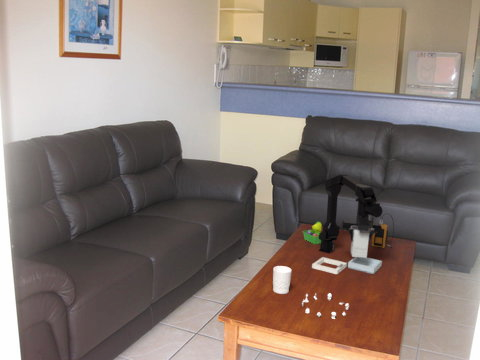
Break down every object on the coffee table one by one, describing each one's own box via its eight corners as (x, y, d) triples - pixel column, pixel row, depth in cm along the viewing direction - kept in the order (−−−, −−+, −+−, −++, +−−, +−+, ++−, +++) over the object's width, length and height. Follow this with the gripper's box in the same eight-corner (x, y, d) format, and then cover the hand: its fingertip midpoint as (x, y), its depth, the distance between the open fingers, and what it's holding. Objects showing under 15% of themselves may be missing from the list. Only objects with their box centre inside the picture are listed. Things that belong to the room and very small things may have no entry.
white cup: (291, 289, 232) (293, 267, 230) (287, 296, 225) (289, 273, 223) (274, 286, 235) (276, 264, 233) (269, 292, 227) (271, 270, 225)
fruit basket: (301, 239, 303) (302, 220, 301) (313, 237, 308) (315, 219, 305) (313, 245, 294) (315, 225, 291) (325, 243, 298) (327, 224, 296)
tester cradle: (311, 268, 259) (312, 263, 258) (322, 260, 270) (322, 255, 269) (337, 274, 253) (337, 269, 252) (346, 266, 263) (347, 261, 263)
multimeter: (393, 244, 303) (398, 211, 299) (391, 249, 294) (395, 215, 290) (368, 240, 309) (371, 207, 305) (364, 244, 300) (368, 210, 296)
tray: (347, 267, 262) (348, 262, 261) (356, 260, 273) (357, 255, 272) (373, 274, 256) (374, 268, 255) (381, 266, 267) (382, 260, 266)
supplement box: (365, 253, 266) (367, 229, 263) (366, 258, 258) (369, 233, 256) (350, 251, 266) (352, 227, 264) (351, 256, 259) (354, 232, 256)
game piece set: (315, 294, 229) (316, 286, 228) (357, 309, 217) (358, 300, 216) (290, 308, 214) (291, 299, 213) (334, 325, 202) (335, 315, 201)
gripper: (345, 214, 251) (341, 245, 254) (385, 218, 249) (381, 249, 252) (343, 208, 262) (340, 238, 265) (381, 211, 260) (378, 242, 263)
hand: (359, 242), depth 261 cm, fingers closed on supplement box, 7 cm apart
